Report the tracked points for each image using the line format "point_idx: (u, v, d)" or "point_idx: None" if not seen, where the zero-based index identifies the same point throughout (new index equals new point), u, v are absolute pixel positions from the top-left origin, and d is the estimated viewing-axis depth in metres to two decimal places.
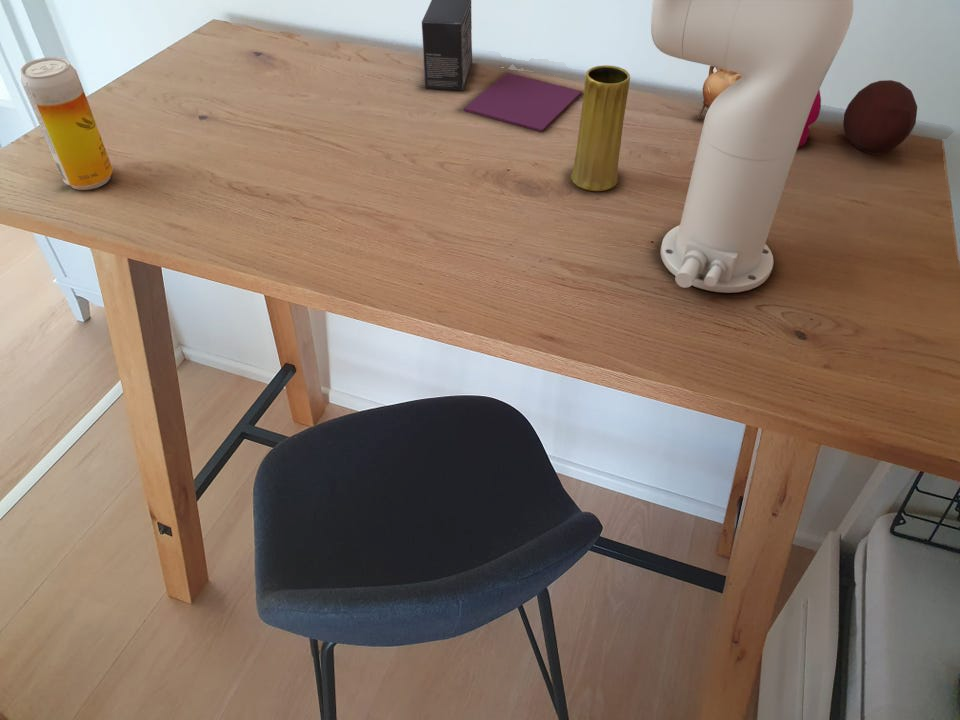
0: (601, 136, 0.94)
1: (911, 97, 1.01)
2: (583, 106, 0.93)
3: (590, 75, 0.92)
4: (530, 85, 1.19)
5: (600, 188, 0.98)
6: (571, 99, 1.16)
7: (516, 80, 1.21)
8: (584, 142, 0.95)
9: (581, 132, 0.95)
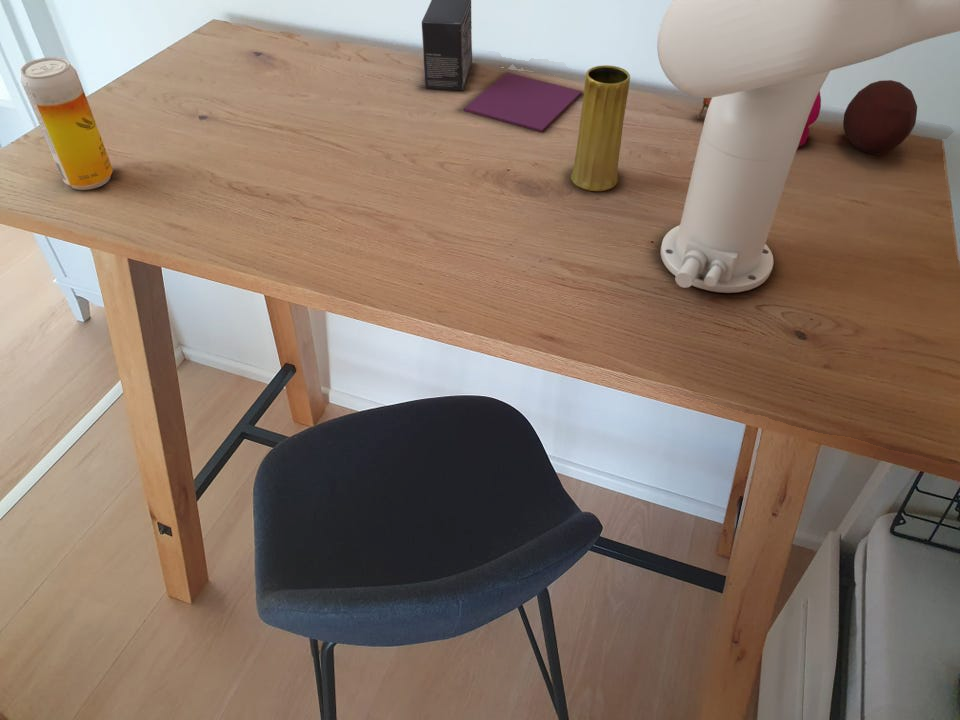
0: (601, 136, 0.94)
1: (911, 97, 1.01)
2: (583, 106, 0.93)
3: (590, 75, 0.92)
4: (530, 85, 1.19)
5: (600, 188, 0.98)
6: (571, 99, 1.16)
7: (516, 80, 1.21)
8: (584, 142, 0.95)
9: (581, 132, 0.95)
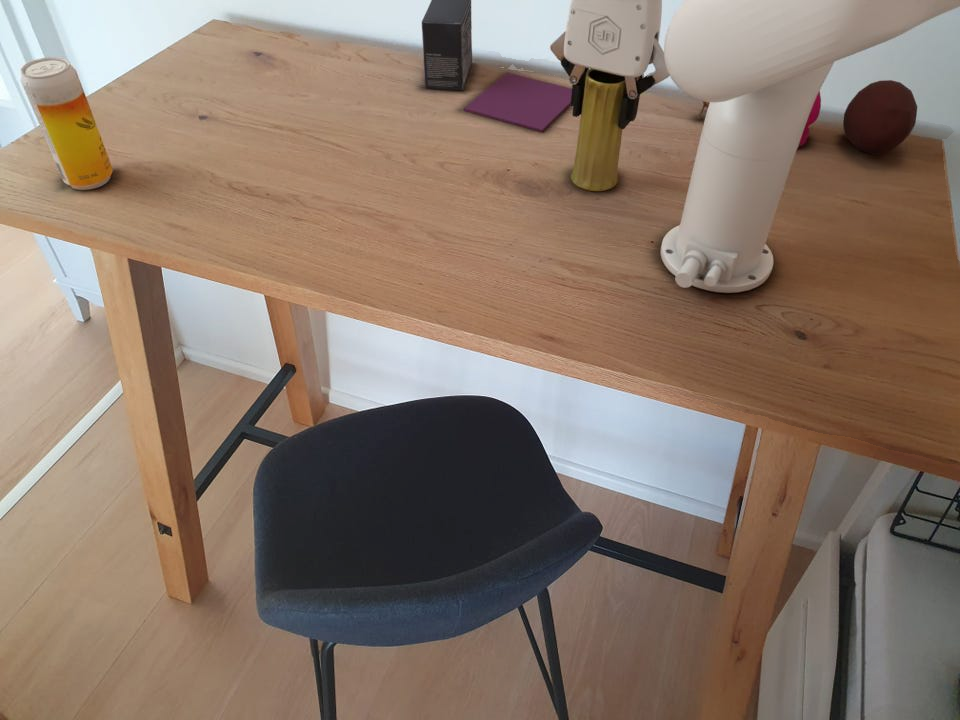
0: (601, 136, 0.94)
1: (911, 97, 1.01)
2: (583, 106, 0.93)
3: (590, 75, 0.92)
4: (530, 85, 1.19)
5: (600, 188, 0.98)
6: None
7: (516, 80, 1.21)
8: (584, 142, 0.95)
9: (581, 132, 0.95)
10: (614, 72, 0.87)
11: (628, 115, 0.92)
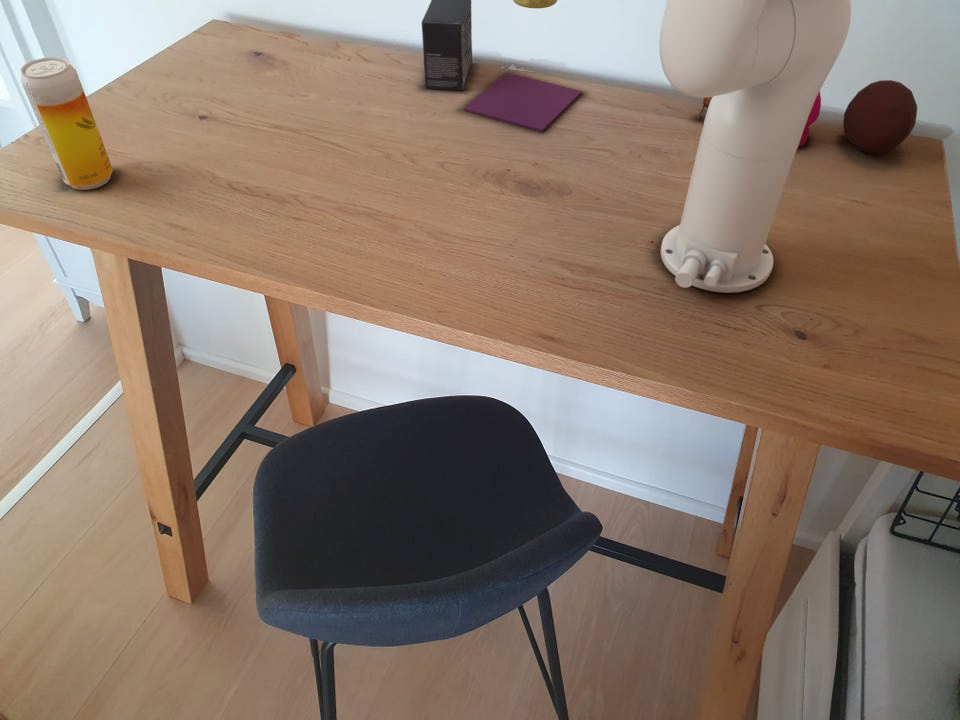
0: None
1: (911, 97, 1.01)
2: None
3: None
4: (530, 85, 1.19)
5: (539, 4, 1.02)
6: (571, 99, 1.16)
7: (516, 80, 1.21)
8: None
9: None
10: None
11: None
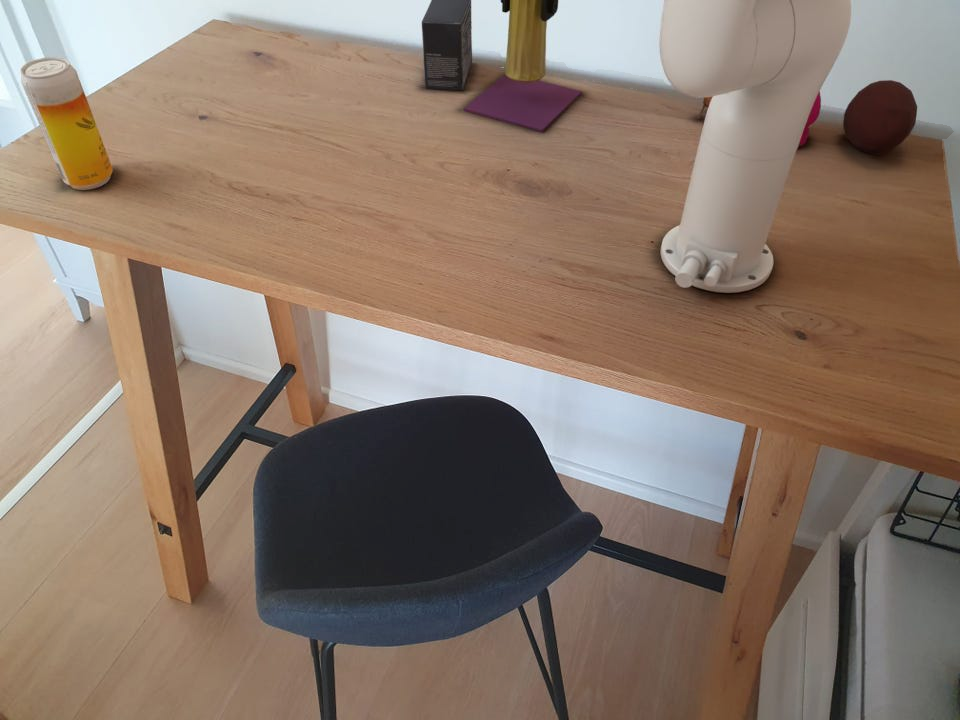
0: (527, 28, 1.06)
1: (911, 97, 1.01)
2: (510, 1, 1.05)
3: None
4: (530, 85, 1.19)
5: (529, 79, 1.11)
6: (571, 99, 1.16)
7: None
8: (513, 35, 1.08)
9: (510, 26, 1.07)
10: None
11: (549, 8, 1.04)
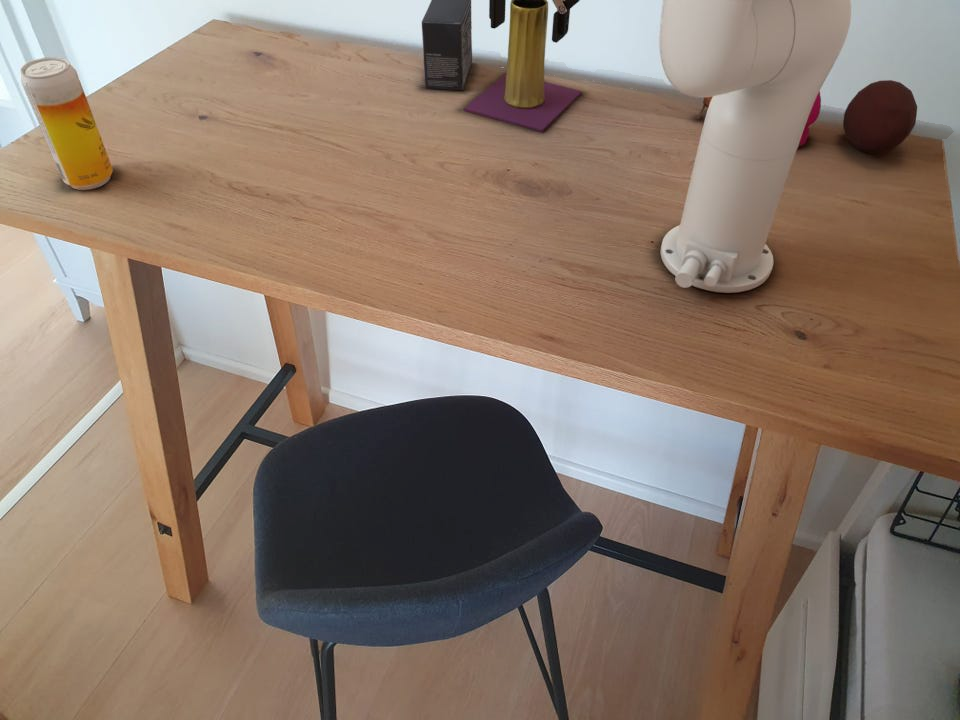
0: (526, 57, 1.09)
1: (911, 97, 1.01)
2: (510, 31, 1.08)
3: (515, 3, 1.07)
4: None
5: (528, 105, 1.13)
6: (571, 99, 1.16)
7: None
8: (512, 63, 1.10)
9: (509, 54, 1.10)
10: None
11: (560, 29, 1.05)
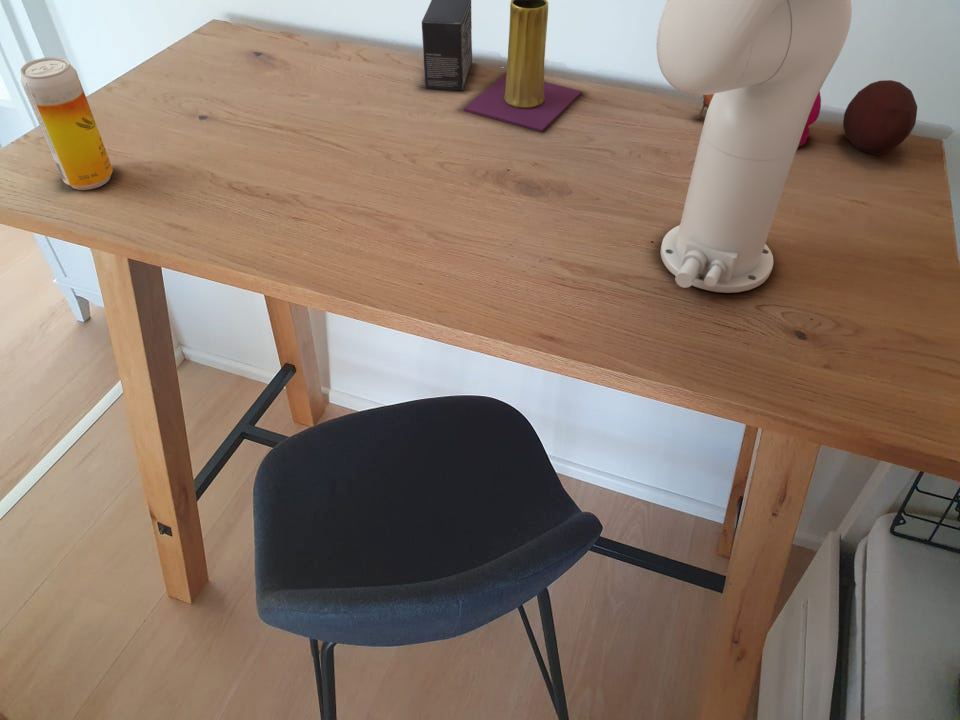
0: (526, 57, 1.09)
1: (911, 97, 1.01)
2: (509, 31, 1.08)
3: (515, 3, 1.07)
4: None
5: (528, 105, 1.13)
6: (571, 99, 1.16)
7: None
8: (512, 63, 1.10)
9: (509, 54, 1.10)
10: None
11: None
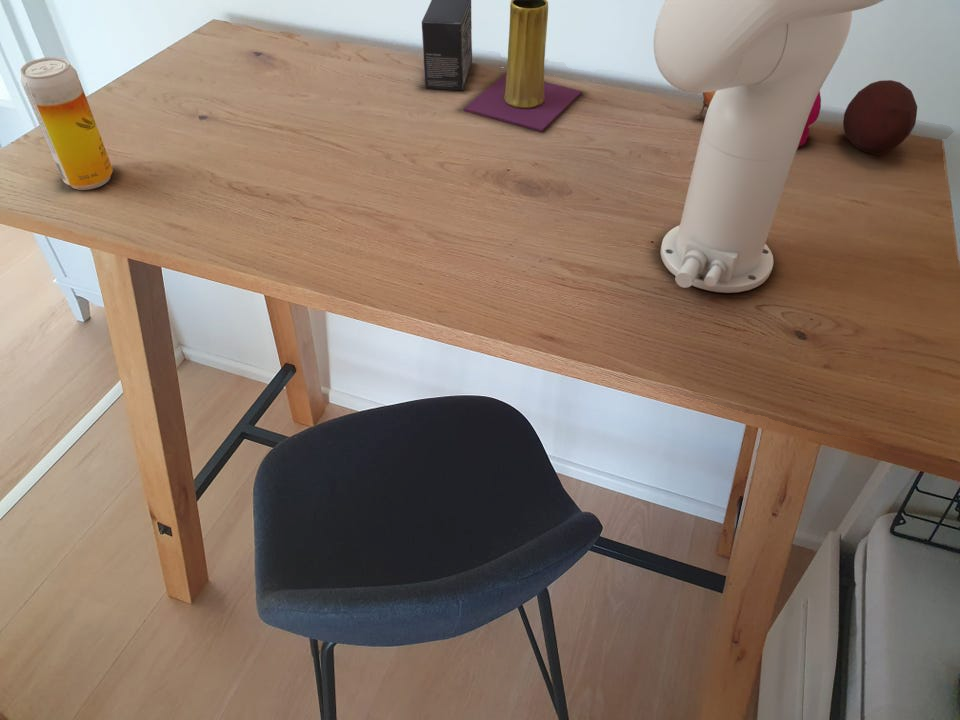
0: (525, 57, 1.09)
1: (911, 97, 1.01)
2: (509, 31, 1.08)
3: (515, 3, 1.07)
4: None
5: (528, 105, 1.13)
6: (571, 99, 1.16)
7: None
8: (512, 63, 1.10)
9: (509, 54, 1.10)
10: None
11: None
